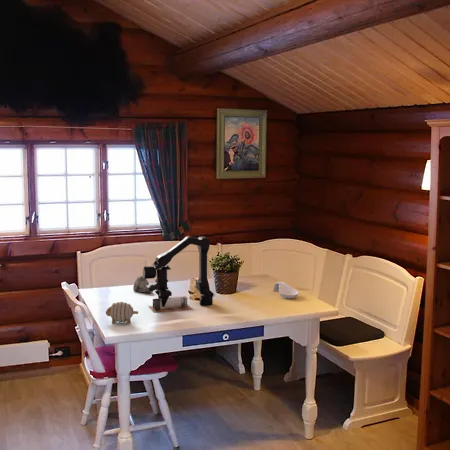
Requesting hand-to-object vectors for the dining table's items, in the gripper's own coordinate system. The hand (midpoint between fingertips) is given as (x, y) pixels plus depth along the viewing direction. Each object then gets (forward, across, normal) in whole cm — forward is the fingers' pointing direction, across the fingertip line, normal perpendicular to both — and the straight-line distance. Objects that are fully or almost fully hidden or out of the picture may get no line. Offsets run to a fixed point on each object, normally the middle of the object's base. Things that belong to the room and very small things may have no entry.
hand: (162, 305), depth 355 cm
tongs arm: (+1, +1, +4) cm, 4 cm away
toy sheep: (+4, +16, -25) cm, 30 cm away
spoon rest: (+3, -10, +78) cm, 79 cm away
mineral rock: (+2, -43, -1) cm, 43 cm away
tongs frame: (+1, 0, +5) cm, 5 cm away
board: (+3, +1, +5) cm, 6 cm away
